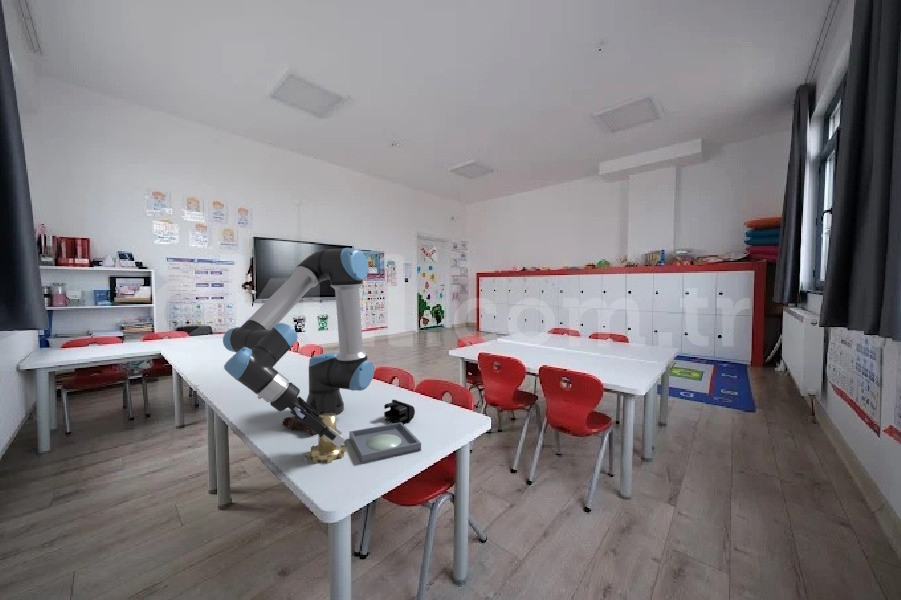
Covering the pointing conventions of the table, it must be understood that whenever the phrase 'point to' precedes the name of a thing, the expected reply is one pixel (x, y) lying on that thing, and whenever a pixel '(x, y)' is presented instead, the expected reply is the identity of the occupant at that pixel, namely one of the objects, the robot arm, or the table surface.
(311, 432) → the bolt
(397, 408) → the end cap
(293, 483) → the table surface
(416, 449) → the carrier tray
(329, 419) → the toothed flange peg
